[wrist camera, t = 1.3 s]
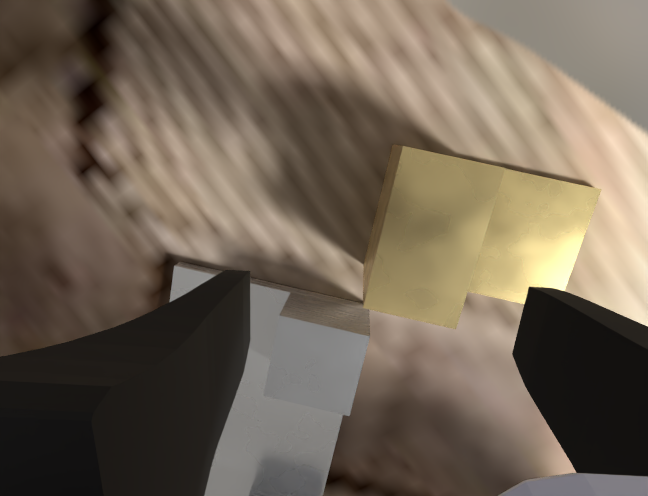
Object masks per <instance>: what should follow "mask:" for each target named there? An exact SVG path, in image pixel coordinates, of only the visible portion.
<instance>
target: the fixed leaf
mask: <svg viewBox="0 0 648 496" xmlns="http://www.w3.org/2000/svg"><path fill="white" fill-rule="evenodd" d="M221 272H223V271H220V270H215V269H211V268H206V267H202V266H198V265H193V264H189V263H185V262H179V263H178V264H176V265H175V266H174V271H173V279H172V287H171V294H170V302H171V301H173V300H175V299H177V298H179V297H181V296H182V295H184V294H186V293H188V292H189V291H191V290H193V289H194V288H196V287H198V286H199V285H201V284H203V283H204V282H206V281H208V280H209V279H211V278H212V277H214V276H216V275H217V274H219V273H221ZM369 338H370V320H369V309H366V308H363V303H359V302H354V301H350V300H346V299H341V298H337V297H333V296H328V295H324V294H320V293H315V292H311V291H307V290H302V289H298V288H294V287H289V286H285V285H280V284H276V283H272V282H267V281H263V280H259V279H254V278H250V345H249V350H248V355H247V360H246V364H245V369H244V373H243V376H242V379H241V382H240V384H239V387H238V390H237V393H236V396H235V399H234V401H233V404H232V407H231V410H230V412H229V415H228V418H227V421H226V424H225V426H224V429H223V432H222V435H221V437H220V440H219V443H218V446H217V449H216V452H215V456H214V459H213V462H212V466H211V470H210V474H209V478H208V482H207V487H206V491H205V495H204V496H323V493H324V489H325V485H326V481H327V477H328V473H329V469H330V465H331V461H332V457H333V453H334V449H335V445H336V441H337V437H338V433H339V429H340V425H341V421H342V417H343V415H346V416H350V412H351V408H352V404H353V401H354V397H355V393H356V389H357V385H358V381H359V377H360V373H361V369H362V365H363V361H364V358H365V354H366V350H367V346H368V342H369Z"/></svg>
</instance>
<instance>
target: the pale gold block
mask: <svg viewBox="0 0 648 496" xmlns="http://www.w3.org/2000/svg"><path fill="white" fill-rule="evenodd" d="M600 192H601V189H597V188H593V187H588V186H584V185H579V184H574V183H570V182H565V181H560V180H556V179H551V178H546V177H542V176H537V175H533V174H528V173H523V172H519V171H514V170H509V169H505V168H504V167H499V166H494V165H490V164H485V163H480V162H476V161H471V160H466V159H462V158H457V157H453V156H448V155H443V154H439V153H434V152H429V151H425V150H420V149H415V148H411V147H406V146H401V145H392V149H391V153H390V157H389V162H388V166H387V170H386V174H385V178H384V182H383V186H382V191H381V195H380V199H379V203H378V207H377V211H376V215H375V220H374V224H373V228H372V232H371V236H370V240H369V244H368V249H367V253H366V257H365V261H364V274H363V308H366V309H370V310H374V311H379V312H383V313H387V314H392V315H396V316H400V317H405V318H409V319H413V320H418V321H422V322H426V323H431V324H435V325H439V326H444V327H448V328H452V329H456V327H457V324H458V321H459V317H460V314H461V311H462V308H463V305H464V301H465V298H466V295H467V292H473V293H477V294H482V295H486V296H490V297H495V298H499V299H504V300H508V301H512V302H517V303H521V304H525V300H526V296H527V292H528V288H529V287H545V288H555V289H559V290H562V291H564V290H565V288H566V285H567V282H568V279H569V277H570V274H571V271H572V268H573V266H574V263H575V260H576V258H577V255H578V252H579V249H580V247H581V244H582V241H583V238H584V236H585V233H586V230H587V228H588V225H589V222H590V219H591V217H592V214H593V211H594V208H595V206H596V203H597V200H598V197H599V195H600Z"/></svg>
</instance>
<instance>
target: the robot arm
mask: <svg viewBox="0 0 648 496" xmlns="http://www.w3.org/2000/svg"><path fill="white" fill-rule="evenodd" d="M249 345H250V271H235V270H225V271H223V272H221V273H219V274H217V275H216V276H214V277H212V278H211V279H209V280H208V281H206V282H204V283H203V284H201V285H199V286H198V287H196V288H194V289H193V290H191V291H189V292H188V293H186V294H184V295H182V296H181V297H179V298H177V299H175V300H173V301H171V302H169V303H167V304H165V305H164V306H162V307H160V308H158V309H156V310H154V311H152V312H150V313H148V314H146V315H143V316H141V317H139V318H136V319H134V320H131V321H129V322H126V323H124V324H121V325H119V326H116V327H114V328H111V329H108V330H105V331H101V332H98V333H95V334H92V335H89V336H86V337H82V338H79V339H76V340H73V341H69V342H66V343H62V344H58V345H54V346H50V347H46V348H41V349H37V350H32V351H27V352H23V353H18V354H13V355H7V356H2V357H0V496H204V495H205V491H206V487H207V482H208V478H209V474H210V470H211V466H212V462H213V459H214V456H215V452H216V449H217V446H218V443H219V440H220V437H221V435H222V432H223V429H224V426H225V424H226V421H227V418H228V415H229V412H230V410H231V407H232V404H233V401H234V399H235V396H236V393H237V390H238V387H239V384H240V382H241V379H242V376H243V373H244V369H245V364H246V360H247V355H248V350H249ZM512 354H513V357H514V360H515V362H516V365H517V368H518V370H519V373H520V375H521V377H522V380H523V382H524V384H525V386H526V388H527V390H528V392H529V394H530V395H531V397H532V399H533V400H534V402H535V404H536V405H537V407H538V409H539V411H540V412H541V414H542V416H543V417H544V419H545V420H546V422H547V424H548V425H549V427H550V429H551V430H552V432H553V434H554V435H555V437H556V439H557V440H558V442H559V443H560V445H561V447H562V448H563V450H564V452H565V453H566V455H567V457H568V458H569V460H570V462H571V463H572V465H573V467H574V469H575V471H576V472H577V473H570V474H563V475H556V476H549V477H542V478H535V479H528V480H524V481H522V482H520V483H519V484H517V485H515V486H513V487H512V488H510V489H508V490H507V491H505V492H503V493H501V494H500V495H498V496H648V327H647V326H645V325H643V324H640V323H638V322H636V321H633V320H631V319H629V318H627V317H624V316H622V315H620V314H617V313H615V312H613V311H611V310H608V309H606V308H604V307H602V306H599V305H597V304H595V303H592V302H590V301H588V300H585V299H583V298H581V297H578V296H576V295H573V294H571V293H568V292H565V291H562V290H559V289H555V288H545V287H529V288H528V292H527V296H526V300H525V304H524V308H523V312H522V317H521V321H520V325H519V329H518V333H517V337H516V341H515V345H514V349H513V353H512Z"/></svg>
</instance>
